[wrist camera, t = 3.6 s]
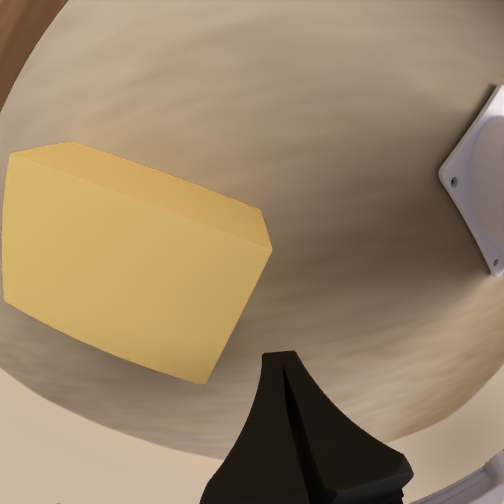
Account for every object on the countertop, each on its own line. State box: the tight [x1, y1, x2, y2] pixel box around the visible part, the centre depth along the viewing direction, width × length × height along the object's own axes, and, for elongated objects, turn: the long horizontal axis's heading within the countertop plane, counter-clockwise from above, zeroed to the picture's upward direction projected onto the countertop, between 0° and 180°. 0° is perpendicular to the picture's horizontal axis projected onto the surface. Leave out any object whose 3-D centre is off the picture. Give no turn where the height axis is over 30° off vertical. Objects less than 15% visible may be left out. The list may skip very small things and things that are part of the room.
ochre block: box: [2, 142, 273, 385], centre depth 10 cm, size 9×6×4 cm, turn 67°
